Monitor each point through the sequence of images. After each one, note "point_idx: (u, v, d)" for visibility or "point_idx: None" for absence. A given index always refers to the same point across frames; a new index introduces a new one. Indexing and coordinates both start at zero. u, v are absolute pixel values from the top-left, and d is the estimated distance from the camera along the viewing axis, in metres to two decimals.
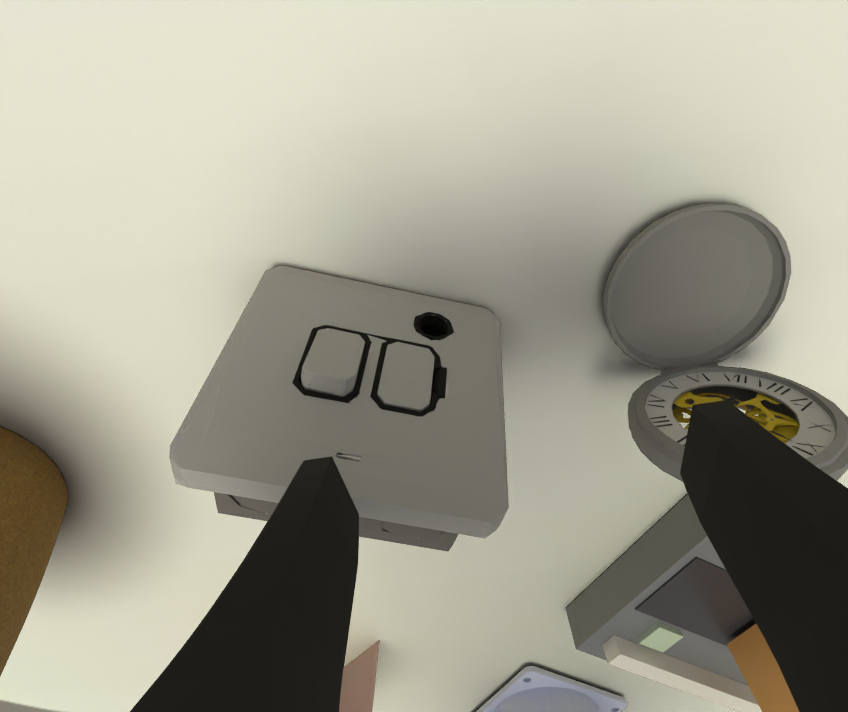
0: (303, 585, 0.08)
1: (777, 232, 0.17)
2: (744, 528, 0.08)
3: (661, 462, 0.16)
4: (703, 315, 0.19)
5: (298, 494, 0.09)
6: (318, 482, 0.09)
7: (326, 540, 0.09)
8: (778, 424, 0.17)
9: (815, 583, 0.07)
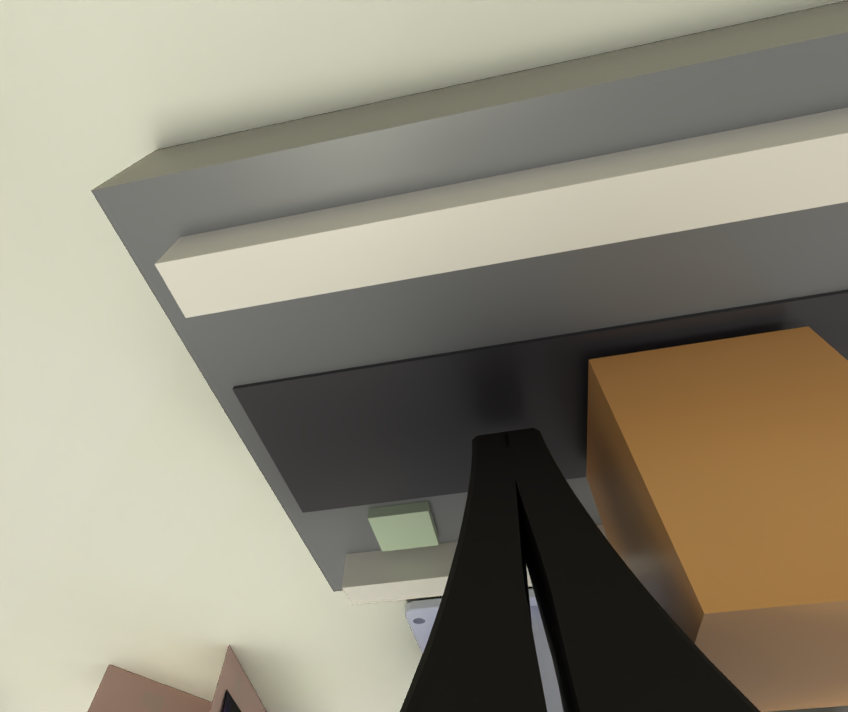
0: (523, 560, 0.07)
1: None
2: (529, 553, 0.08)
3: None
4: None
5: (492, 468, 0.08)
6: (508, 456, 0.09)
7: (519, 516, 0.09)
8: None
9: (550, 610, 0.07)
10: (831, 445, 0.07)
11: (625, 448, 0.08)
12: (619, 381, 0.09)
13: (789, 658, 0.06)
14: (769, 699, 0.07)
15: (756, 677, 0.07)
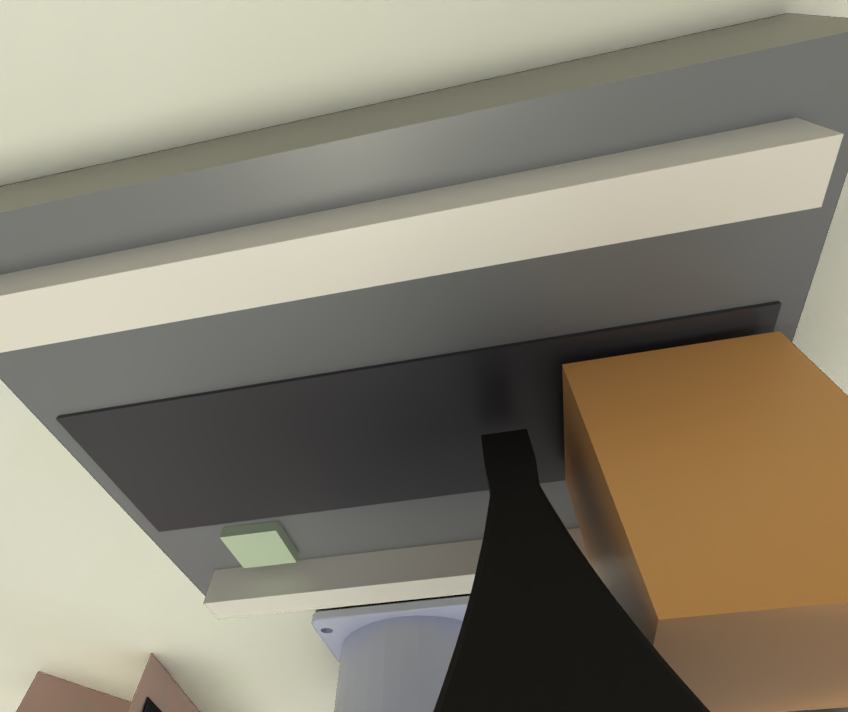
0: None
1: None
2: None
3: None
4: None
5: (514, 465, 0.08)
6: (530, 453, 0.09)
7: None
8: None
9: None
10: (794, 451, 0.07)
11: (593, 453, 0.08)
12: (591, 386, 0.09)
13: (749, 662, 0.06)
14: (734, 702, 0.07)
15: (719, 681, 0.07)
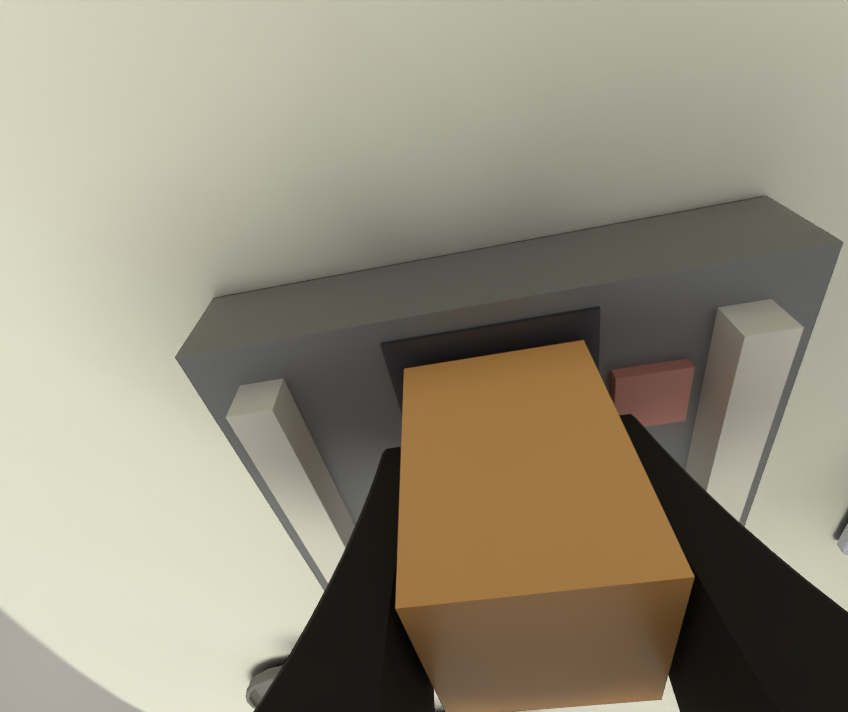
0: None
1: (248, 700, 0.26)
2: None
3: None
4: None
5: (390, 482, 0.09)
6: None
7: None
8: None
9: None
10: None
11: None
12: None
13: (531, 680, 0.08)
14: (632, 669, 0.07)
15: (569, 684, 0.08)
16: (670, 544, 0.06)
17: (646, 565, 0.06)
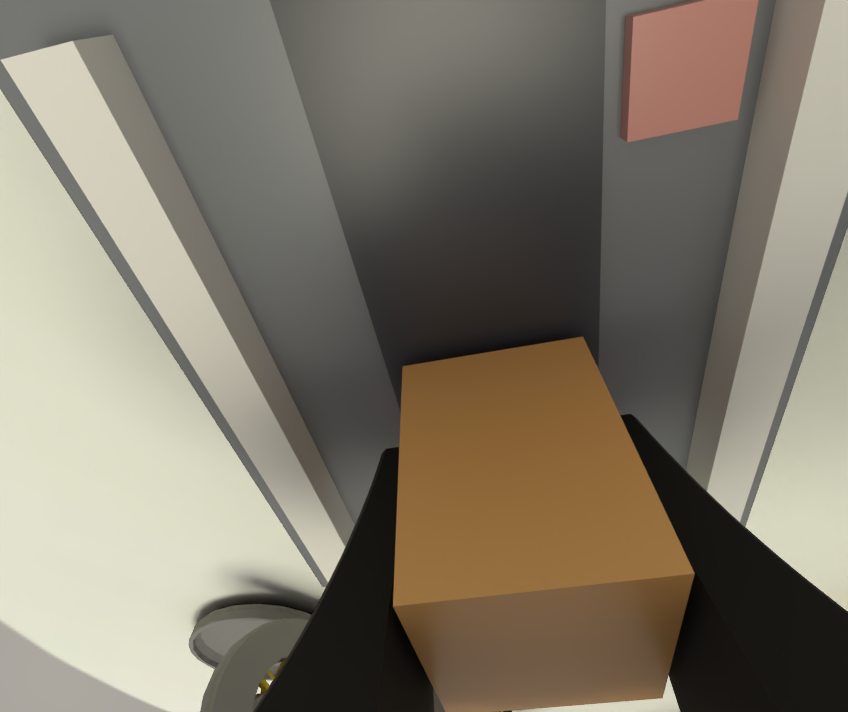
0: None
1: (192, 651, 0.22)
2: None
3: None
4: None
5: (389, 482, 0.09)
6: None
7: None
8: None
9: None
10: None
11: None
12: None
13: (531, 679, 0.07)
14: (633, 667, 0.07)
15: (568, 683, 0.08)
16: (670, 540, 0.06)
17: (646, 562, 0.06)
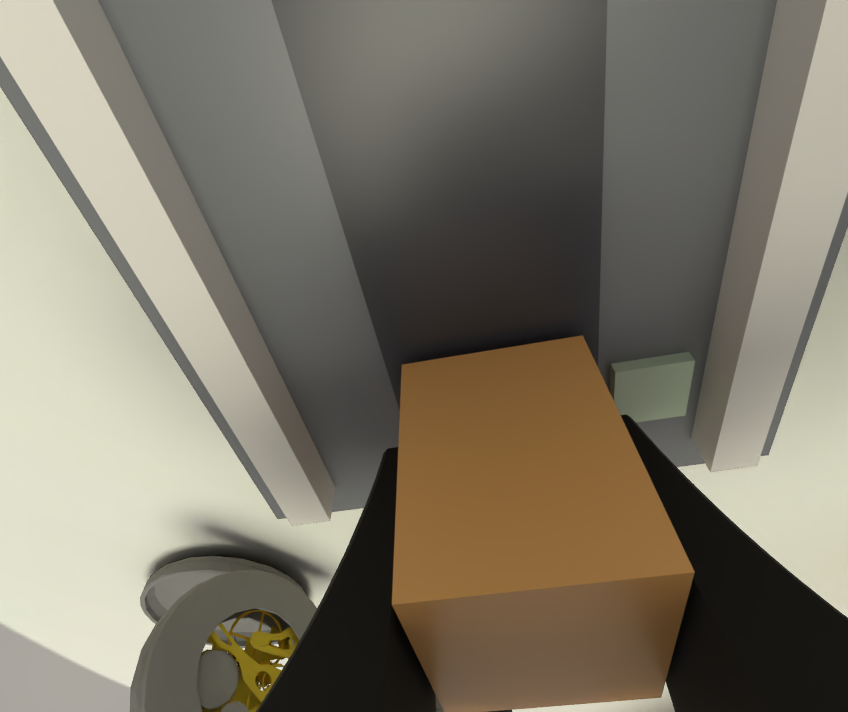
0: None
1: (145, 611, 0.20)
2: None
3: None
4: None
5: (391, 481, 0.09)
6: None
7: None
8: None
9: None
10: None
11: None
12: None
13: (530, 677, 0.07)
14: (632, 666, 0.07)
15: (567, 681, 0.08)
16: (670, 539, 0.06)
17: (646, 560, 0.06)
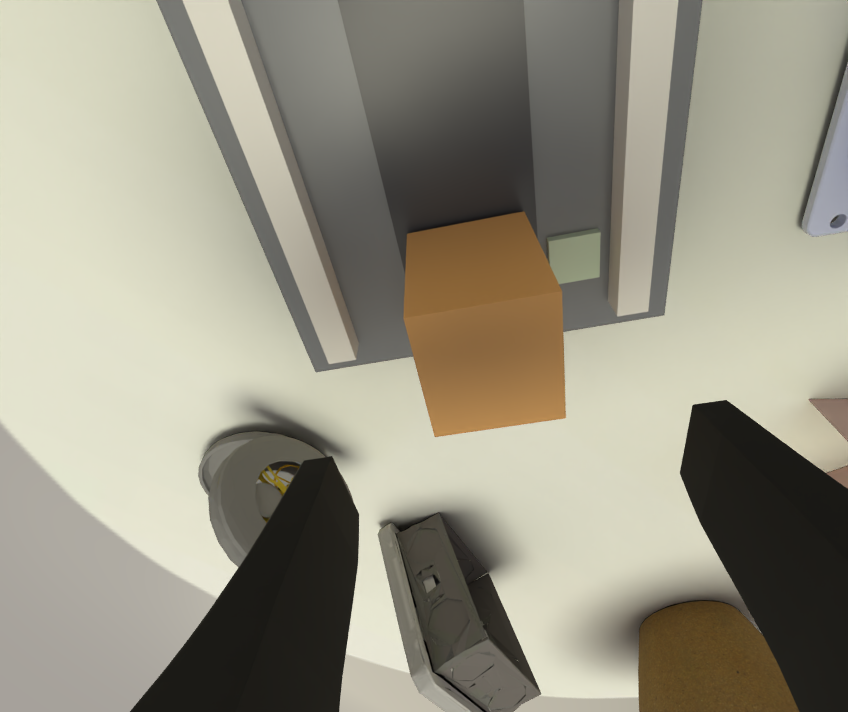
0: (303, 585, 0.08)
1: (201, 481, 0.25)
2: (743, 528, 0.08)
3: None
4: None
5: (298, 494, 0.09)
6: (318, 482, 0.09)
7: (326, 540, 0.09)
8: None
9: (815, 583, 0.07)
10: None
11: None
12: None
13: (484, 394, 0.13)
14: (542, 382, 0.12)
15: (506, 399, 0.13)
16: (553, 282, 0.11)
17: (538, 290, 0.11)
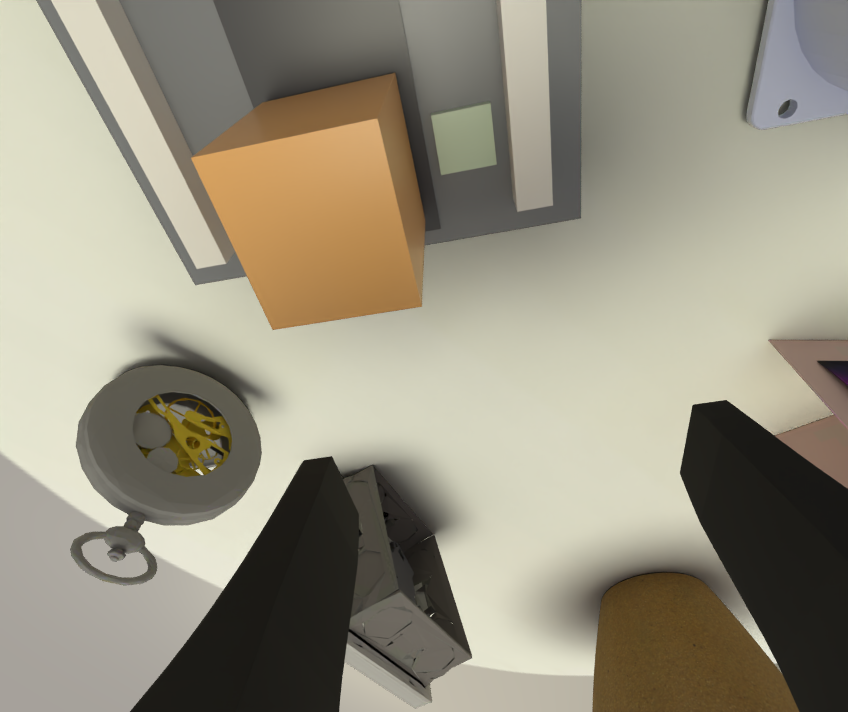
0: (303, 585, 0.08)
1: None
2: (744, 528, 0.08)
3: (235, 502, 0.19)
4: None
5: (298, 494, 0.09)
6: (318, 482, 0.09)
7: (326, 540, 0.09)
8: None
9: (815, 583, 0.07)
10: None
11: None
12: None
13: (316, 271, 0.11)
14: (383, 255, 0.10)
15: (345, 278, 0.11)
16: (374, 114, 0.09)
17: (353, 121, 0.09)
